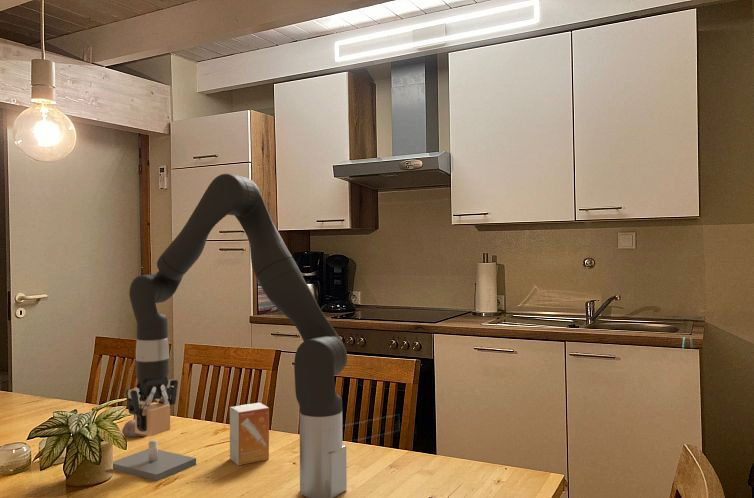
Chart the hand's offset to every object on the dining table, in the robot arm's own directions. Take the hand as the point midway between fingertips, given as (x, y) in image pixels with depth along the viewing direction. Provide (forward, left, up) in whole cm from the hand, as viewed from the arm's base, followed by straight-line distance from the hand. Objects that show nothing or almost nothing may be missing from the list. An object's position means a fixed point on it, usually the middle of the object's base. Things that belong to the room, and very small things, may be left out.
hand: (153, 427), depth 147 cm
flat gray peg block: (0, 0, -9) cm, 9 cm away
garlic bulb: (+24, -15, -10) cm, 30 cm away
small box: (-17, -15, -10) cm, 25 cm away
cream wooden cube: (0, 0, -1) cm, 1 cm away
